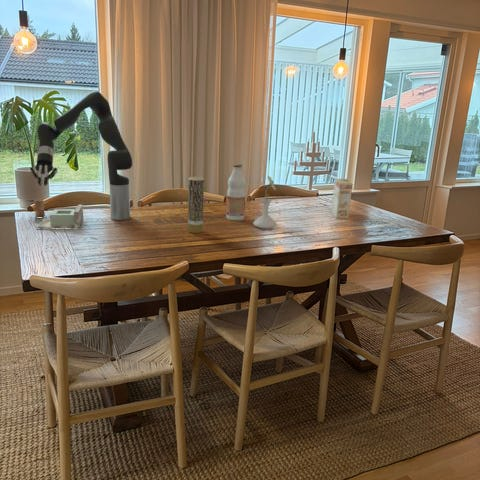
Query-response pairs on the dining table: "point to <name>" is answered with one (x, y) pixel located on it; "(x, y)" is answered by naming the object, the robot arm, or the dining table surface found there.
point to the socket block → (62, 217)
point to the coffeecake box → (341, 198)
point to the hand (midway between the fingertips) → (42, 184)
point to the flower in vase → (266, 211)
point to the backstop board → (78, 222)
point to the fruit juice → (236, 194)
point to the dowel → (39, 208)
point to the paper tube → (195, 204)
